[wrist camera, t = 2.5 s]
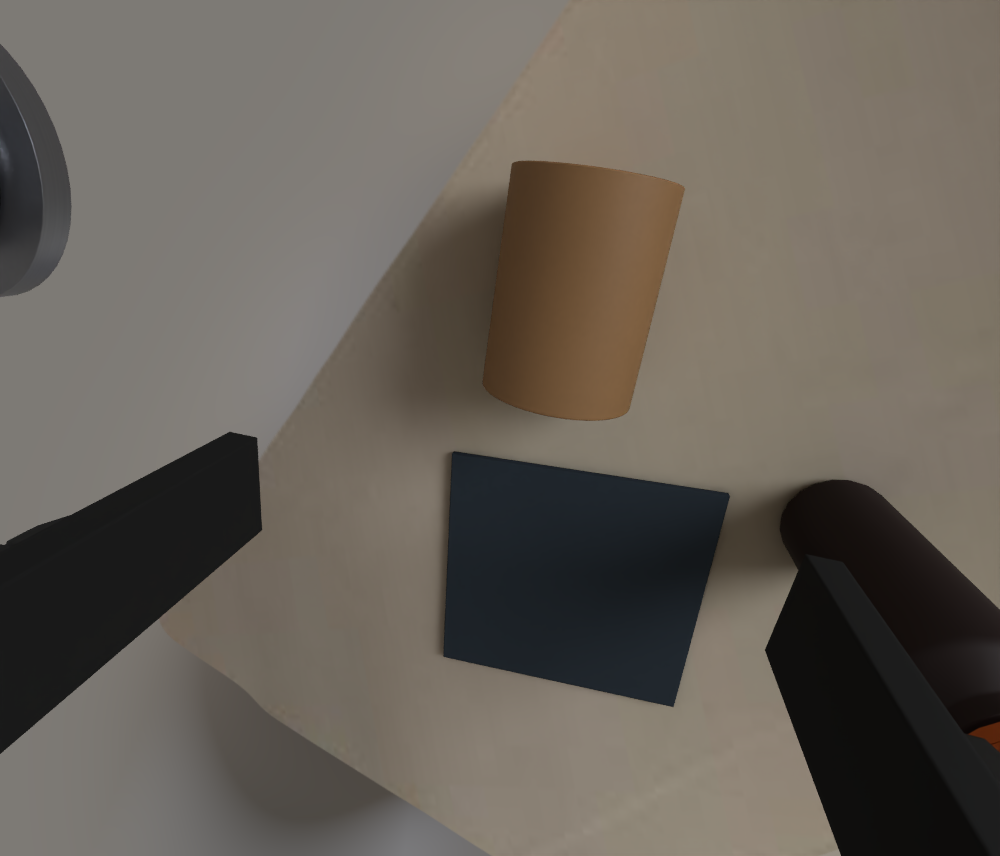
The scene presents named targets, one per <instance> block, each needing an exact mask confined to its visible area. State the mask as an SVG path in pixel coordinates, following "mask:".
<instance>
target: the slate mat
mask: <svg viewBox="0 0 1000 856" xmlns="http://www.w3.org/2000/svg"><path fill="white" fill-rule="evenodd" d="M729 497H730V496H729V494H728V493H724V492H717V491H711V490H704V489H698V488H691V487H684V486H678V485H671V484H665V483H658V482H652V481H645V480H638V479H632V478H625V477H619V476H612V475H606V474H599V473H592V472H586V471H579V470H573V469H566V468H560V467H553V466H546V465H540V464H533V463H527V462H520V461H514V460H507V459H500V458H494V457H487V456H481V455H474V454H468V453H461V452H453V453H452V470H451V493H450V516H449V539H448V563H447V586H446V609H445V632H444V655H443V656H444V657H447V658H452V659H456V660H461V661H465V662H470V663H474V664H479V665H484V666H488V667H493V668H497V669H502V670H506V671H511V672H516V673H520V674H525V675H529V676H534V677H538V678H543V679H548V680H552V681H557V682H561V683H566V684H571V685H575V686H580V687H584V688H589V689H593V690H598V691H603V692H607V693H612V694H616V695H621V696H625V697H630V698H635V699H639V700H644V701H648V702H653V703H658V704H662V705H667V706H671V707H674V703H675V699H676V696H677V692H678V688H679V684H680V681H681V677H682V673H683V669H684V666H685V662H686V658H687V654H688V651H689V647H690V643H691V639H692V636H693V632H694V628H695V624H696V621H697V617H698V613H699V610H700V606H701V602H702V598H703V595H704V591H705V587H706V583H707V580H708V576H709V572H710V568H711V565H712V561H713V557H714V553H715V550H716V546H717V542H718V538H719V535H720V531H721V527H722V524H723V520H724V516H725V512H726V509H727V505H728V501H729Z"/></svg>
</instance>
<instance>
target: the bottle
mask: <svg viewBox="0 0 1000 856" xmlns="http://www.w3.org/2000/svg"><path fill="white" fill-rule="evenodd" d="M780 532H781V536H782V540H783V543H784V545H785V547H786V548H787V550H788V552H789V554H790V556H791V557H792V559H793V561H794V563H795V565H796V566H797V568H798V570H799V568H800V566H801V563H802V561H803V559H804V556H805V554H808V555H812V556H817V557H822V558H826V559H831V560H836V561H841V562H843V563H844V564H845V566H846V567H847V569H848V570H849V571H850V573H851V574H852V576H853V577H854V578H855V580H856V581H857V583H858V584H859V586H860V587H861V588H862V590H863V591H864V593H865V594H866V595H867V597H868V598H869V600H870V601H871V603H872V604H873V605H874V607H875V608H876V610H877V611H878V612H879V614H880V615H881V617H882V618H883V620H884V621H885V622H886V624H887V625H888V627H889V628H890V629H891V631H892V632H893V634H894V635H895V637H896V638H897V639H898V641H899V642H900V644H901V645H902V646H903V648H904V649H905V651H906V652H907V654H908V655H909V656H910V658H911V659H912V661H913V662H914V663H915V665H916V666H917V668H918V669H919V671H920V672H921V673H922V675H923V676H924V678H925V679H926V680H927V682H928V683H929V685H930V686H931V688H932V689H933V690H934V692H935V693H936V695H937V696H938V697H939V699H940V700H941V702H942V703H943V705H944V706H945V707H946V709H947V710H948V712H949V713H950V714H951V716H952V717H953V719H954V720H955V722H956V723H957V724H958V726H959V727H960V729H961V730H962V731H963V733H964V734H968V735H972V736H977V737H981V738H985V739H986V740H987V741H988V742H989V743H990V744H991V745H992V746H993V747H994V748H996V749H997V750H998V751H999V752H1000V610H999V609H998V608H997V607H996V606H995V605H994V604H993V603H992V602H991V601H990V600H989V599H988V598H987V597H986V596H985V595H984V594H983V593H982V592H981V591H980V590H979V589H978V588H977V587H976V586H975V585H974V584H973V583H972V582H971V581H970V580H968V579H967V578H966V577H965V576H964V575H963V574H962V573H961V572H960V571H959V570H958V569H957V568H956V567H955V566H954V565H953V564H952V563H951V562H950V561H949V560H948V559H947V558H946V557H945V556H944V555H943V554H942V553H941V552H940V551H939V550H937V549H936V548H935V547H934V546H933V545H932V544H931V543H930V542H929V541H928V540H927V539H926V538H925V537H924V536H923V535H922V534H921V533H920V532H919V531H918V530H917V529H916V528H915V527H914V526H913V525H912V524H911V523H910V522H909V521H908V520H906V519H905V518H904V517H903V516H902V515H901V514H900V513H899V512H898V511H897V510H896V509H895V508H894V507H893V506H892V505H891V504H890V503H889V502H888V501H887V500H886V499H885V498H884V497H883V496H882V495H880V494H879V493H877V492H876V491H875V490H873V489H872V488H870V487H869V486H866V485H863V484H860V483H857V482H853V481H848V480H830V481H826V482H822V483H817V484H814V485H812V486H810V487H808V488H806V489H804V490H802V491H801V492H799V493H798V494H797V495H796V496H795V497H794V498H793V499H792V500H791V501H790V502H789V503H788V505H787V506H786V508H785V510H784V512H783V514H782V517H781V524H780Z"/></svg>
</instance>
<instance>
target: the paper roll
mask: <svg viewBox="0 0 1000 856" xmlns="http://www.w3.org/2000/svg"><path fill="white" fill-rule="evenodd" d="M684 190H685V188H684V187H683V186H682V185H680V184H677V183H675V182H671V181H668V180H664V179H661V178H656V177H652V176H647V175H642V174H637V173H632V172H627V171H621V170H615V169H608V168H602V167H595V166H587V165H579V164H570V163H560V162H548V161H517V162H514V163H512V167H511V174H510V182H509V189H508V197H507V204H506V211H505V219H504V226H503V234H502V241H501V248H500V256H499V263H498V271H497V278H496V285H495V293H494V300H493V308H492V315H491V322H490V330H489V337H488V345H487V352H486V359H485V367H484V374H483V386H484V388H485V389H486V390H487V391H488V392H489V393H490V394H491V395H492V396H494V397H495V398H497V399H499V400H501V401H503V402H505V403H507V404H509V405H512V406H514V407H517V408H520V409H523V410H526V411H529V412H533V413H537V414H541V415H545V416H551V417H556V418H563V419H571V420H586V421H595V420H608V419H613V418H617V417H620V416H622V415H624V414H626V413H627V412H628V410H629V408H630V404H631V400H632V396H633V392H634V388H635V384H636V380H637V376H638V372H639V368H640V364H641V361H642V357H643V353H644V349H645V345H646V341H647V337H648V333H649V329H650V325H651V321H652V317H653V313H654V309H655V305H656V301H657V297H658V293H659V289H660V285H661V281H662V277H663V273H664V269H665V265H666V262H667V258H668V254H669V250H670V246H671V242H672V238H673V234H674V230H675V226H676V222H677V218H678V214H679V210H680V206H681V202H682V198H683V194H684Z"/></svg>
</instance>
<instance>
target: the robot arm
mask: <svg viewBox="0 0 1000 856" xmlns="http://www.w3.org/2000/svg"><path fill="white" fill-rule="evenodd" d="M0 206H1V182H0ZM260 531H262V521H261V502H260V483H259V465H258V446H257V438H256V437H251V436H247V435H242V434H237V433H232V432H229V433H227V434H225V435H223V436H221V437H219V438H217V439H215V440H213V441H211V442H209V443H208V444H206V445H204V446H202V447H200V448H198V449H196V450H194V451H192V452H190V453H189V454H186V455H185V456H183V457H181V458H179V459H177V460H175V461H173V462H171V463H169V464H167V465H165V466H164V467H162V468H160V469H158V470H156V471H154V472H152V473H150V474H148V475H147V476H145V477H143V478H141V479H139V480H137V481H135V482H133V483H131V484H129V485H128V486H126V487H124V488H122V489H120V490H118V491H116V492H114V493H112V494H110V495H108V496H106V497H104V498H103V499H101V500H99V501H97V502H95V503H93V504H91V505H89V506H87V507H85V508H83V509H82V510H80V511H78V512H76V513H74V514H72V515H70V516H66V517H63V518H60V519H57V520H54V521H51V522H47V523H44V524H41V525H38V526H36V527H34V528H32V529H30V530H28V531H26V532H24V533H22V534H20V535H18V536H16V537H14V538H13V539H11V540H9V541H7V543H6V544H5V545H0V754H1V753H2V752H3V751H4V750H5V749H6V748H8V747H9V746H10V745H11V744H12V743H13V742H15V741H16V740H17V739H18V738H19V737H20V736H22V735H23V734H24V733H25V732H26V731H28V730H29V729H30V728H31V727H32V726H33V725H35V724H36V723H37V722H38V721H39V720H40V719H42V718H43V717H44V716H45V715H46V714H47V713H49V712H50V711H51V710H52V709H53V708H54V707H56V706H57V705H58V704H59V703H60V702H61V701H63V700H64V699H65V698H66V697H67V696H68V695H70V694H71V693H72V692H73V691H74V690H76V689H77V688H78V687H79V686H80V685H81V684H83V683H84V682H85V681H86V680H87V679H88V678H90V677H91V676H92V675H93V674H94V673H95V672H97V671H98V670H99V669H100V668H101V667H102V666H104V665H105V664H106V663H107V662H108V661H109V660H111V659H112V658H113V657H114V656H115V655H116V654H118V653H119V652H120V651H121V650H122V649H123V648H125V647H126V646H127V645H128V644H129V643H131V642H132V641H133V640H134V639H135V638H136V637H138V636H139V635H140V634H141V633H142V632H143V631H144V630H146V629H147V628H148V627H149V626H150V625H152V624H153V623H154V622H155V621H156V620H157V619H159V618H160V617H161V616H162V615H163V614H164V613H166V612H167V611H168V610H169V609H170V608H171V607H173V606H174V605H175V604H176V603H177V602H178V601H180V600H181V599H182V598H183V597H184V596H186V595H187V594H188V593H189V592H190V591H191V590H193V589H194V588H195V587H196V586H197V585H198V584H200V583H201V582H202V581H203V580H204V579H205V578H207V577H208V576H209V575H210V574H211V573H212V572H214V571H215V570H216V569H217V568H218V567H219V566H221V565H222V564H223V563H224V562H225V561H226V560H228V559H229V558H230V557H231V556H232V555H233V554H235V553H236V552H237V551H238V550H239V549H240V548H242V547H243V546H244V545H245V544H246V543H248V542H249V541H250V540H251V539H252V538H253V537H255V536H256V535H257V534H258V533H259V532H260ZM765 652H766V654H767V657H768V660H769V662H770V665H771V668H772V670H773V673H774V676H775V679H776V681H777V684H778V687H779V689H780V692H781V695H782V697H783V700H784V703H785V705H786V708H787V711H788V714H789V716H790V719H791V722H792V724H793V727H794V730H795V732H796V735H797V738H798V741H799V743H800V746H801V749H802V751H803V754H804V757H805V759H806V762H807V765H808V768H809V770H810V773H811V776H812V778H813V781H814V784H815V786H816V789H817V792H818V795H819V797H820V800H821V803H822V805H823V808H824V811H825V813H826V816H827V819H828V822H829V824H830V827H831V830H832V832H833V835H834V838H835V840H836V843H837V846H838V849H839V851H840V854H841V856H1000V752H999V751H998V750H997V749H996V748H994V747H993V746H992V745H991V744H990V743H989V742H988V741H987V740H986V739H985V738H981V737H977V736H972V735H968V734H964V733H963V731H962V730H961V729H960V727H959V726H958V724H957V723H956V722H955V720H954V719H953V717H952V716H951V714H950V713H949V712H948V710H947V709H946V707H945V706H944V705H943V703H942V702H941V700H940V699H939V697H938V696H937V695H936V693H935V692H934V690H933V689H932V688H931V686H930V685H929V683H928V682H927V680H926V679H925V678H924V676H923V675H922V673H921V672H920V671H919V669H918V668H917V666H916V665H915V663H914V662H913V661H912V659H911V658H910V656H909V655H908V654H907V652H906V651H905V649H904V648H903V646H902V645H901V644H900V642H899V641H898V639H897V638H896V637H895V635H894V634H893V632H892V631H891V629H890V628H889V627H888V625H887V624H886V622H885V621H884V620H883V618H882V617H881V615H880V614H879V612H878V611H877V610H876V608H875V607H874V605H873V604H872V603H871V601H870V600H869V598H868V597H867V595H866V594H865V593H864V591H863V590H862V588H861V587H860V586H859V584H858V583H857V581H856V580H855V578H854V577H853V576H852V574H851V573H850V571H849V570H848V569H847V567H846V566H845V564H844V563H843V562H841V561H836V560H831V559H826V558H822V557H817V556H812V555H808V554H805V556H804V559H803V561H802V563H801V566H800V568H799V571H798V573H797V575H796V578H795V580H794V582H793V585H792V587H791V590H790V592H789V594H788V597H787V599H786V601H785V604H784V606H783V608H782V611H781V613H780V616H779V618H778V620H777V623H776V625H775V627H774V630H773V632H772V635H771V637H770V639H769V642H768V644H767V646H766V649H765Z"/></svg>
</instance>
